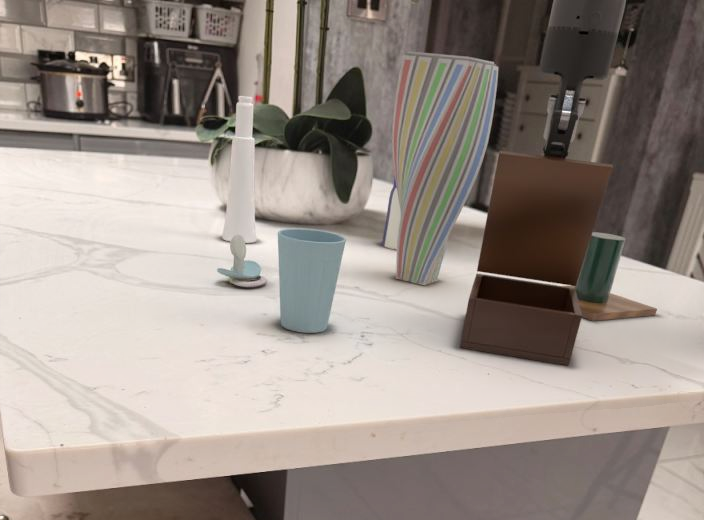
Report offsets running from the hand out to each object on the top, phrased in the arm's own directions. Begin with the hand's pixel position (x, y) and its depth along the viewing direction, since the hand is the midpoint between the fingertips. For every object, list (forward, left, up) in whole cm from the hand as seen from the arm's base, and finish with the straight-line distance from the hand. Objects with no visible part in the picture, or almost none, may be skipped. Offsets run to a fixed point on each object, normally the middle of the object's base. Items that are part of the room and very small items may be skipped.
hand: (544, 197), depth 92 cm
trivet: (-22, -7, -16) cm, 28 cm away
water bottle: (-17, -48, -16) cm, 53 cm away
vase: (-3, -25, -16) cm, 30 cm away
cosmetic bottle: (+13, -55, -16) cm, 59 cm away
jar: (-22, -7, -15) cm, 28 cm away
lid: (+1, +1, -3) cm, 3 cm away
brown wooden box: (+4, +4, -16) cm, 17 cm away
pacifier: (+26, -27, -16) cm, 41 cm away
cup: (+28, -7, -16) cm, 33 cm away
